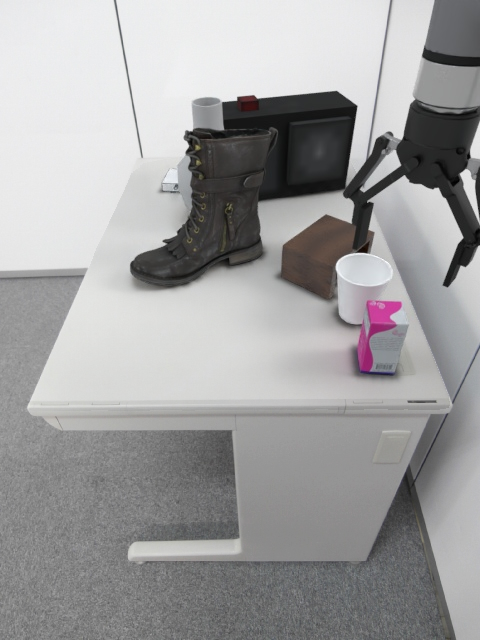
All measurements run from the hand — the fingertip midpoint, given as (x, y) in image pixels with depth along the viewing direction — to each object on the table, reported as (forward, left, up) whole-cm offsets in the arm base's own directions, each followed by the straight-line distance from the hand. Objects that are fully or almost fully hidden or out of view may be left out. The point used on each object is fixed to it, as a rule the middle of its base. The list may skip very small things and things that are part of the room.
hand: (401, 262), depth 62 cm
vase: (+55, -18, -21) cm, 61 cm away
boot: (+43, -2, -21) cm, 48 cm away
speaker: (+52, -41, -21) cm, 70 cm away
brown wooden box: (+21, -17, -21) cm, 34 cm away
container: (+75, -27, -21) cm, 82 cm away
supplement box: (0, 0, -21) cm, 21 cm away
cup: (+9, -8, -21) cm, 24 cm away
